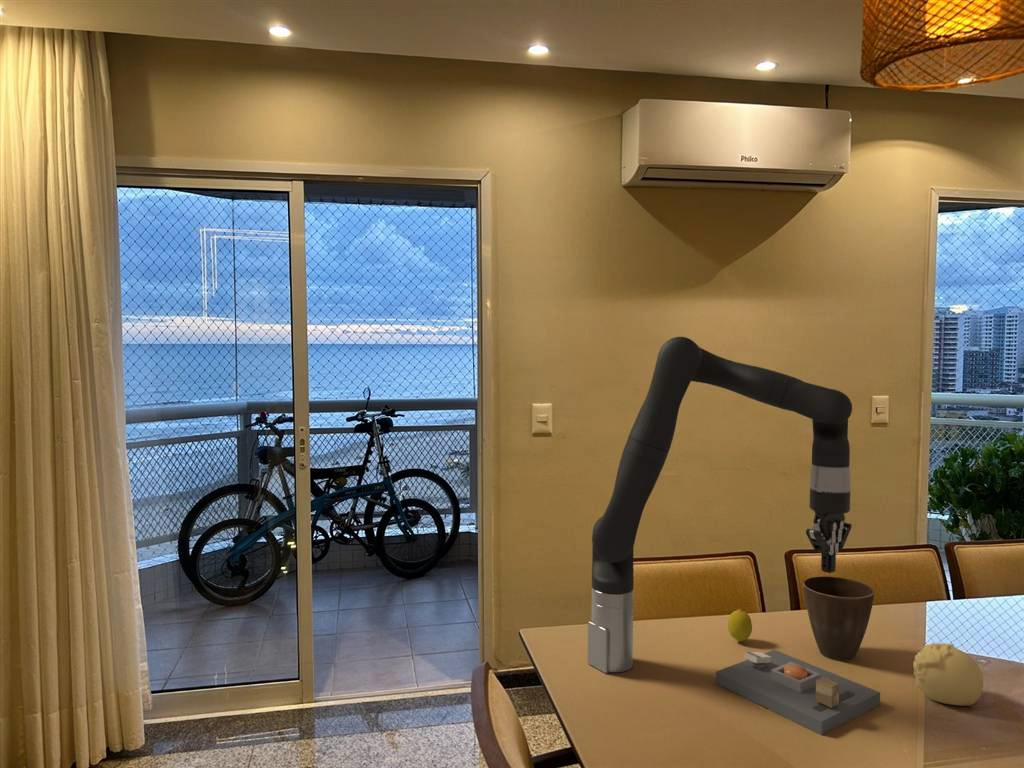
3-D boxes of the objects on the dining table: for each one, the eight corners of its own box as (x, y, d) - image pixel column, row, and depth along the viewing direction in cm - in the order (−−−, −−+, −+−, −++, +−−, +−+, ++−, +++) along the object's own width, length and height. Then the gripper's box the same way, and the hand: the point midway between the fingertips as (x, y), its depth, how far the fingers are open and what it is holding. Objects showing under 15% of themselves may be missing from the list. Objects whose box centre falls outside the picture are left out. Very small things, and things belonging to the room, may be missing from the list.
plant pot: (866, 675, 149) (867, 602, 149) (794, 657, 158) (795, 588, 158) (878, 651, 161) (880, 584, 161) (811, 636, 170) (812, 572, 170)
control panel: (821, 735, 125) (821, 710, 125) (715, 683, 145) (715, 662, 145) (879, 704, 136) (880, 682, 136) (774, 660, 156) (774, 641, 156)
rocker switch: (756, 663, 145) (757, 656, 146) (744, 658, 148) (745, 651, 148) (770, 662, 148) (771, 656, 148) (758, 657, 151) (759, 651, 151)
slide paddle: (831, 707, 129) (831, 686, 129) (815, 700, 132) (816, 680, 132) (838, 704, 131) (839, 683, 131) (822, 697, 133) (823, 677, 133)
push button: (798, 686, 138) (798, 676, 138) (779, 677, 141) (779, 668, 141) (811, 680, 140) (811, 670, 140) (792, 672, 144) (792, 662, 144)
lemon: (753, 647, 163) (753, 614, 163) (728, 645, 164) (729, 612, 164) (750, 638, 169) (750, 606, 168) (726, 636, 170) (727, 604, 170)
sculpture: (917, 679, 147) (918, 629, 147) (985, 697, 140) (986, 644, 139) (907, 699, 139) (908, 646, 138) (979, 719, 131) (980, 663, 131)
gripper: (831, 481, 147) (829, 562, 148) (793, 487, 140) (792, 572, 140) (865, 487, 141) (863, 571, 141) (828, 493, 133) (826, 582, 134)
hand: (828, 571), depth 141 cm, fingers closed
